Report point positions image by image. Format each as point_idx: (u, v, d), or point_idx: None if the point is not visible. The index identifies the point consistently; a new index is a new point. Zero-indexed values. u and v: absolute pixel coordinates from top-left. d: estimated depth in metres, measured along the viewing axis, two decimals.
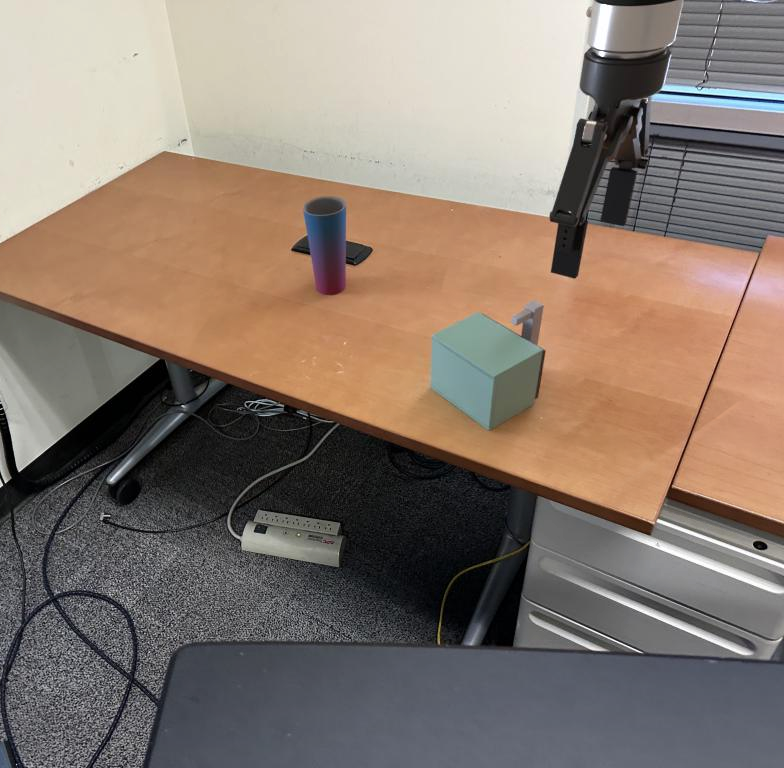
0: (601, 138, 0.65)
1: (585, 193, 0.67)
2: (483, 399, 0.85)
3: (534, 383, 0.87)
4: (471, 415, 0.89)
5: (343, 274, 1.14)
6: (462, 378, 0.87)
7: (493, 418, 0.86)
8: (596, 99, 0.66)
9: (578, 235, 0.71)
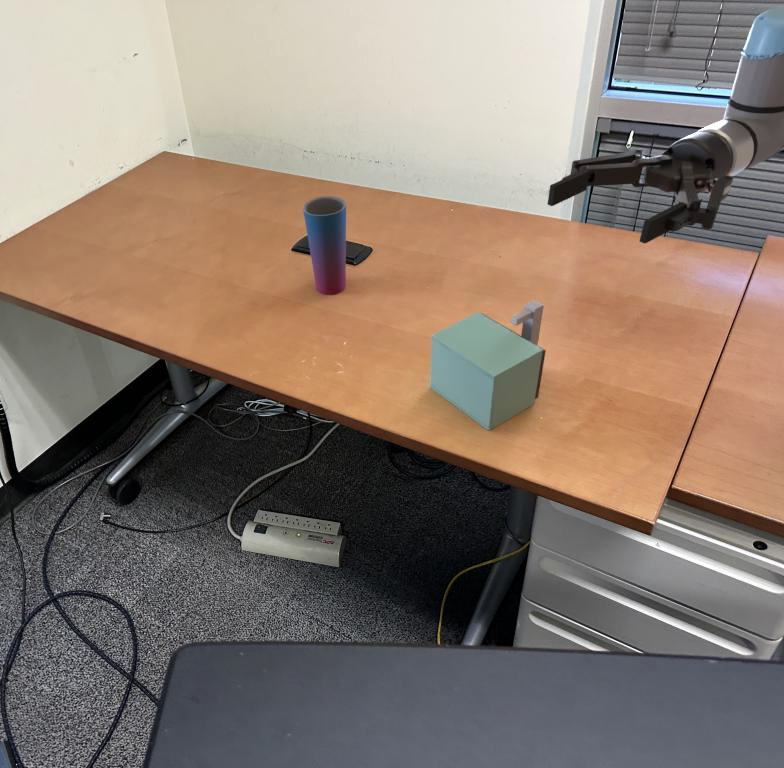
0: (632, 152, 0.93)
1: (596, 159, 0.93)
2: (483, 399, 0.85)
3: (534, 383, 0.87)
4: (471, 415, 0.89)
5: (343, 274, 1.14)
6: (462, 378, 0.87)
7: (493, 418, 0.86)
8: None
9: None
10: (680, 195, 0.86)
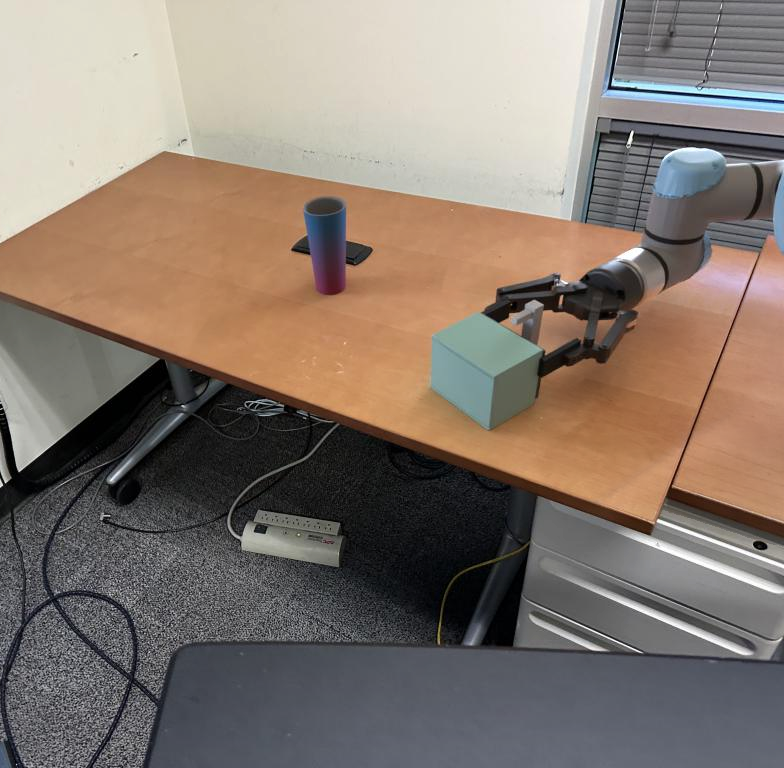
0: (551, 277, 0.98)
1: (519, 286, 0.97)
2: (483, 399, 0.85)
3: (534, 383, 0.87)
4: (471, 415, 0.89)
5: (343, 274, 1.14)
6: (462, 378, 0.87)
7: (493, 418, 0.86)
8: None
9: None
10: None
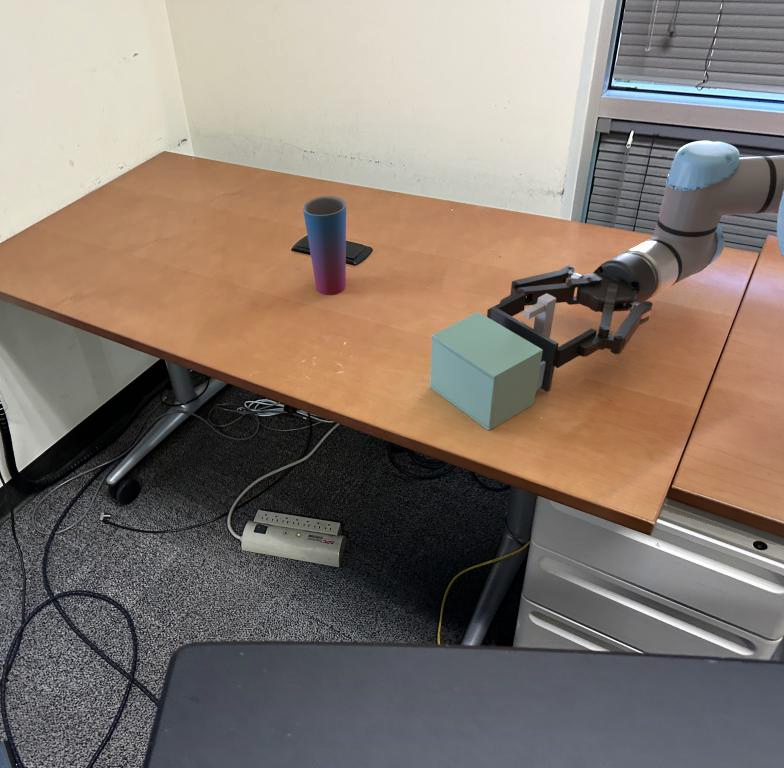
0: (565, 269, 0.99)
1: (533, 278, 0.98)
2: (483, 399, 0.85)
3: (534, 383, 0.87)
4: (471, 415, 0.89)
5: (343, 274, 1.14)
6: (462, 378, 0.87)
7: (493, 418, 0.86)
8: None
9: None
10: None
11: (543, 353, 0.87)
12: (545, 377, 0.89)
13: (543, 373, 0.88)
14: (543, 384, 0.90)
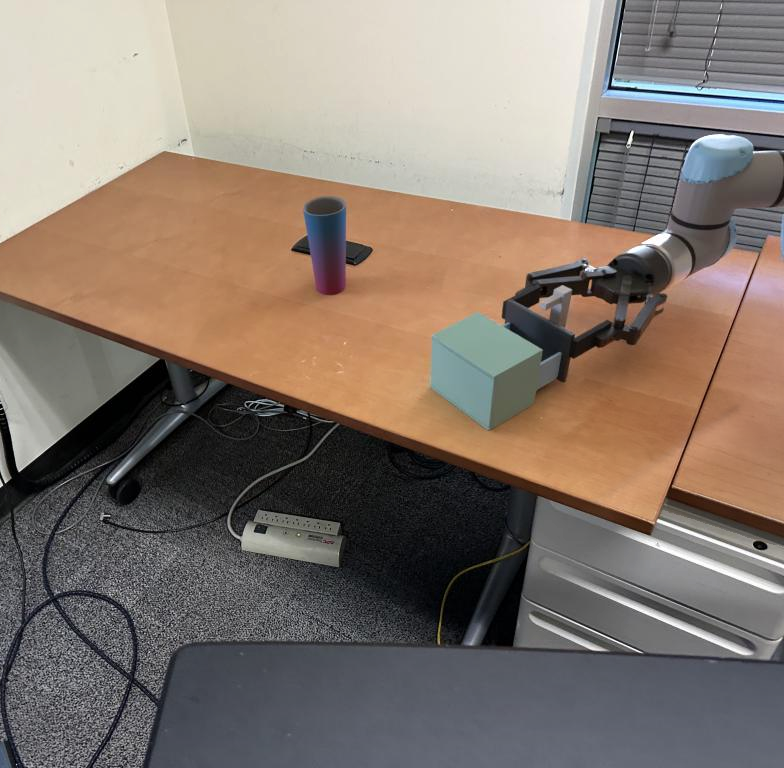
0: (579, 262, 1.00)
1: (548, 271, 0.99)
2: (483, 399, 0.85)
3: (534, 383, 0.87)
4: (471, 415, 0.89)
5: (343, 274, 1.14)
6: (462, 378, 0.87)
7: (493, 418, 0.86)
8: None
9: None
10: (616, 308, 0.93)
11: (559, 344, 0.88)
12: (561, 368, 0.90)
13: (559, 364, 0.89)
14: (559, 375, 0.91)
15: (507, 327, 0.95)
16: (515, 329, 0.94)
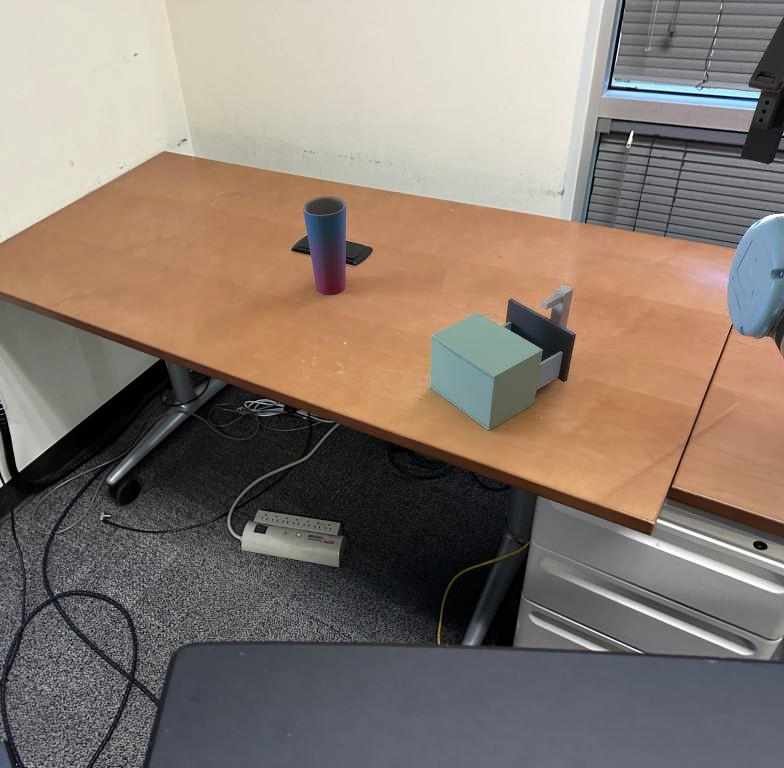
0: None
1: None
2: (483, 399, 0.85)
3: (534, 383, 0.87)
4: (471, 415, 0.89)
5: (343, 274, 1.14)
6: (462, 378, 0.87)
7: (493, 418, 0.86)
8: None
9: (781, 109, 0.62)
10: None
11: (560, 343, 0.88)
12: (562, 367, 0.90)
13: (560, 363, 0.89)
14: (560, 374, 0.91)
15: (508, 326, 0.95)
16: (516, 328, 0.94)
